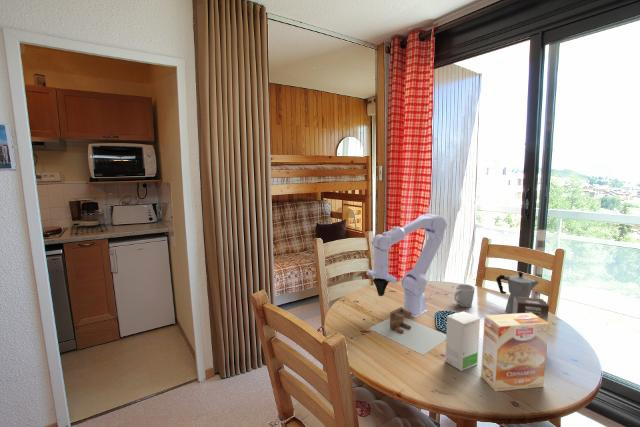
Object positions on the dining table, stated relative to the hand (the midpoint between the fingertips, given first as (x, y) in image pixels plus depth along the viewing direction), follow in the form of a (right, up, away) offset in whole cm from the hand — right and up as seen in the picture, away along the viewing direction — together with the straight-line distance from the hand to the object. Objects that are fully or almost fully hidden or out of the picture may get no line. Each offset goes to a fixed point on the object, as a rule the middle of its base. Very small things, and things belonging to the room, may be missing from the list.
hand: (381, 295), depth 131 cm
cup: (+40, -8, +12) cm, 42 cm away
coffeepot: (+59, -9, +4) cm, 59 cm away
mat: (+8, -11, -11) cm, 18 cm away
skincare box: (+20, -14, -30) cm, 39 cm away
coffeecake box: (+30, -15, -40) cm, 52 cm away
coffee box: (+48, -12, -20) cm, 53 cm away
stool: (+6, -11, -9) cm, 15 cm away
